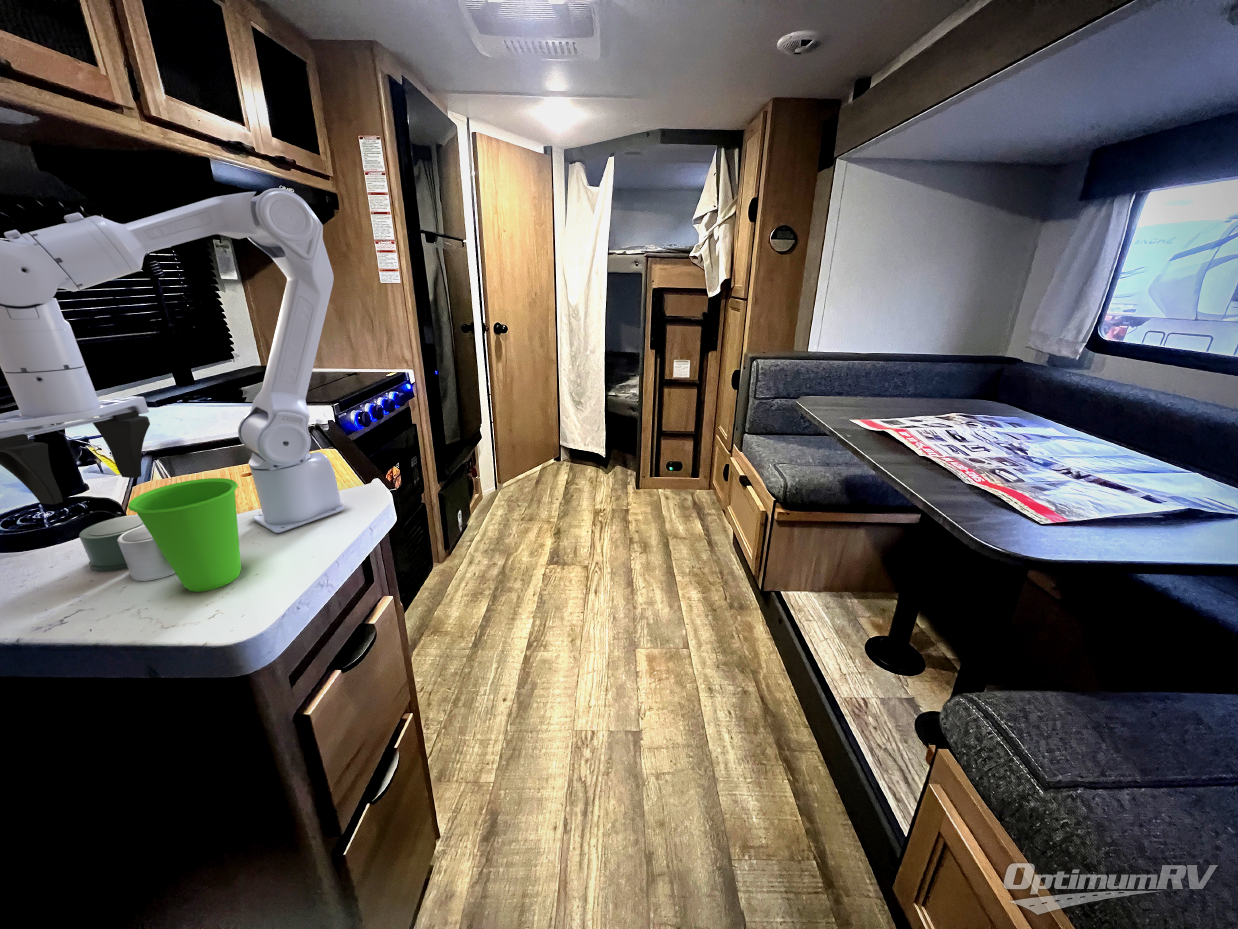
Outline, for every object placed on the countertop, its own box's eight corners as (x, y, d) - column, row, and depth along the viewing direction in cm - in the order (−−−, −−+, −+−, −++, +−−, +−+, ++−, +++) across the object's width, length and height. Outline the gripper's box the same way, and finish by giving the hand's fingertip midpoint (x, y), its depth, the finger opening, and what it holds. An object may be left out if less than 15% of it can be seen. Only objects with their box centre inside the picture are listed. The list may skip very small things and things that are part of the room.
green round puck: (157, 538, 65) (146, 508, 63) (175, 553, 61) (163, 521, 60) (83, 560, 59) (70, 528, 58) (98, 578, 56) (83, 544, 54)
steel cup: (183, 552, 61) (171, 517, 59) (198, 565, 58) (186, 528, 57) (126, 571, 57) (111, 534, 55) (139, 586, 54) (124, 547, 52)
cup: (207, 607, 50) (174, 514, 47) (139, 597, 52) (103, 506, 48) (280, 563, 59) (257, 481, 55) (219, 555, 60) (193, 475, 57)
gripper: (98, 359, 57) (136, 465, 62) (-91, 379, 44) (-23, 513, 48) (146, 360, 56) (181, 468, 61) (-33, 381, 42) (31, 518, 47)
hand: (94, 488), depth 54 cm, fingers open, 7 cm apart
